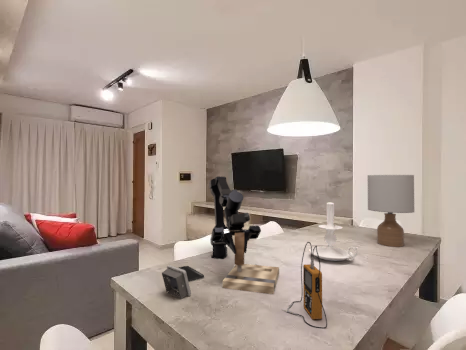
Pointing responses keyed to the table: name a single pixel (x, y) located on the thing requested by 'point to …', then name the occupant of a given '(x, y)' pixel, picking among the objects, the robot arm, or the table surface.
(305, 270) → the multimeter
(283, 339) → the table surface
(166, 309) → the table surface
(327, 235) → the candlestick
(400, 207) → the lamp
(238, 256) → the brown round-topped cylinder
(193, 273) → the phone
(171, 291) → the electrical switch
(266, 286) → the board
